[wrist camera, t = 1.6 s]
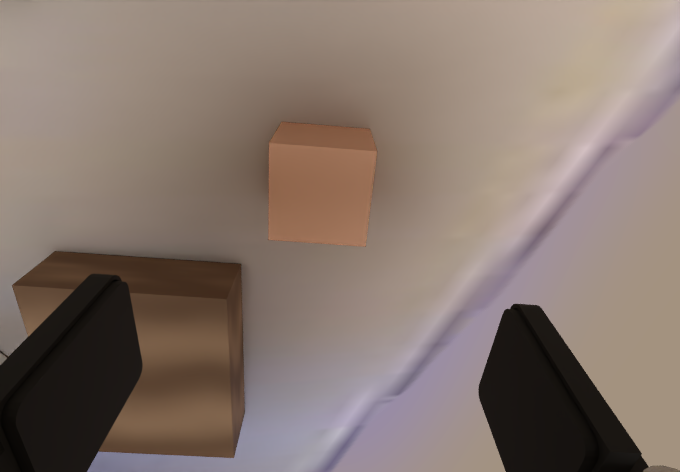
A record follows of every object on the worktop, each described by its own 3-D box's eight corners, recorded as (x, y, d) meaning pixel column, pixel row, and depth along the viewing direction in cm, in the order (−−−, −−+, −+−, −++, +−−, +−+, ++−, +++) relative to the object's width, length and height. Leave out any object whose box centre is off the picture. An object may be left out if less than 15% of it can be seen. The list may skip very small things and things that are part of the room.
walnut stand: (244, 412, 34) (233, 457, 30) (93, 404, 33) (64, 449, 30) (240, 264, 27) (226, 299, 24) (55, 251, 27) (11, 285, 23)
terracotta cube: (360, 209, 26) (365, 246, 21) (280, 203, 26) (268, 239, 21) (369, 128, 24) (377, 151, 19) (281, 121, 23) (268, 142, 19)
